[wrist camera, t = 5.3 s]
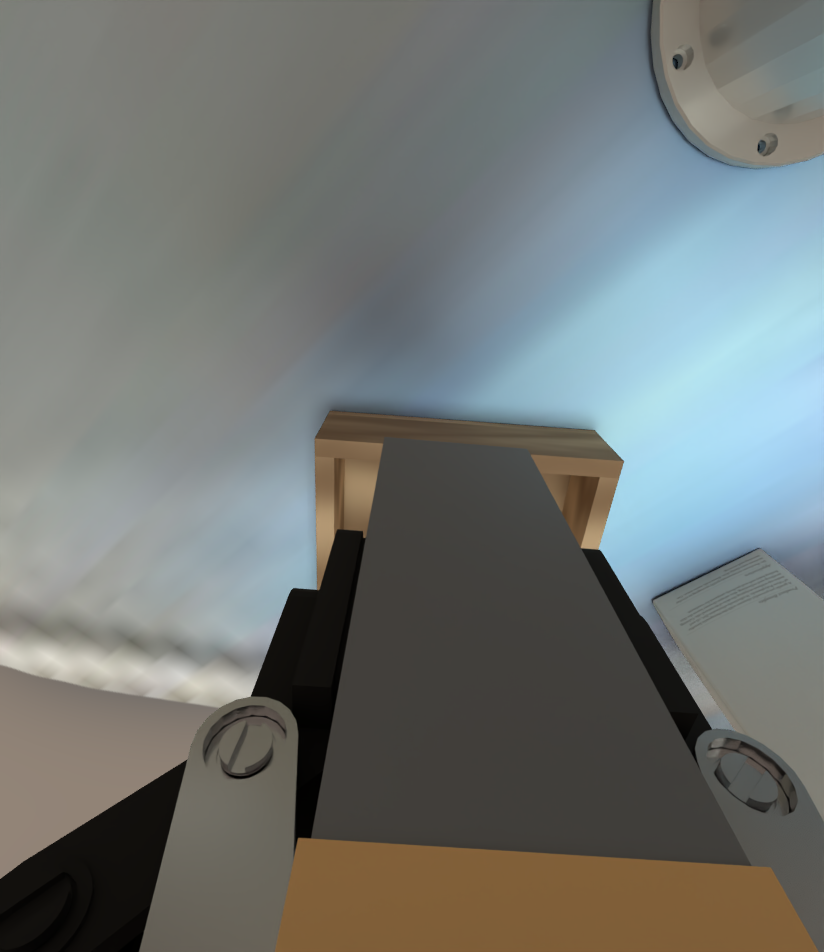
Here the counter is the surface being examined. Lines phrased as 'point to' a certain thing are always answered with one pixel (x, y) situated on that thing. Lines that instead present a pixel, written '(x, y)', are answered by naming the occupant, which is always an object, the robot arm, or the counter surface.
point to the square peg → (508, 748)
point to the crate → (553, 449)
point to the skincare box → (758, 656)
